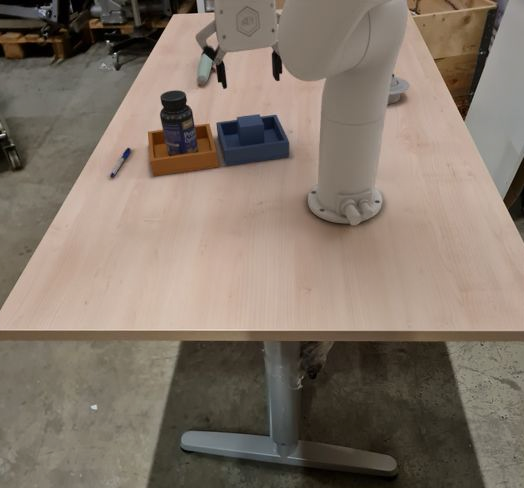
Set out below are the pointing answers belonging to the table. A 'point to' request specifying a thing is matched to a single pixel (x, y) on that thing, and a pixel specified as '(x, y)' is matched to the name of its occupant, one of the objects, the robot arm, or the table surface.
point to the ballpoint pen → (121, 161)
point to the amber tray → (184, 162)
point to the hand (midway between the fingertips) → (250, 82)
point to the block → (250, 130)
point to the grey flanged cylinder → (396, 89)
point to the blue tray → (238, 154)
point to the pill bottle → (178, 124)
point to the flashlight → (204, 68)
